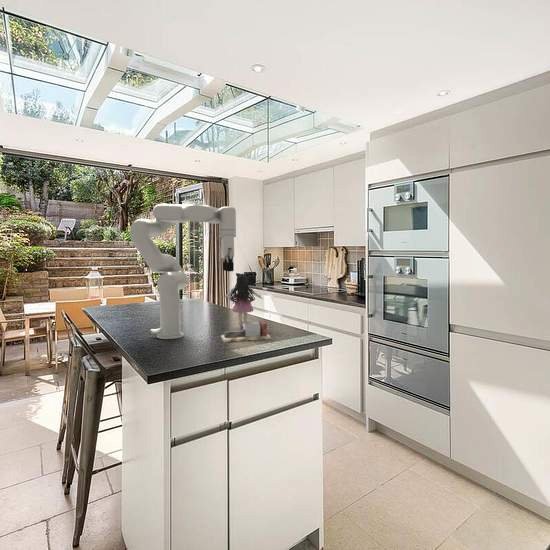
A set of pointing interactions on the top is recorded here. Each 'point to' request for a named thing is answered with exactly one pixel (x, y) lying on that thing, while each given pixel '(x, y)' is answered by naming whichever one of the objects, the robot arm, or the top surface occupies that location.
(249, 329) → the lock block
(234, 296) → the figurine
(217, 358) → the top surface
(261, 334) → the board
